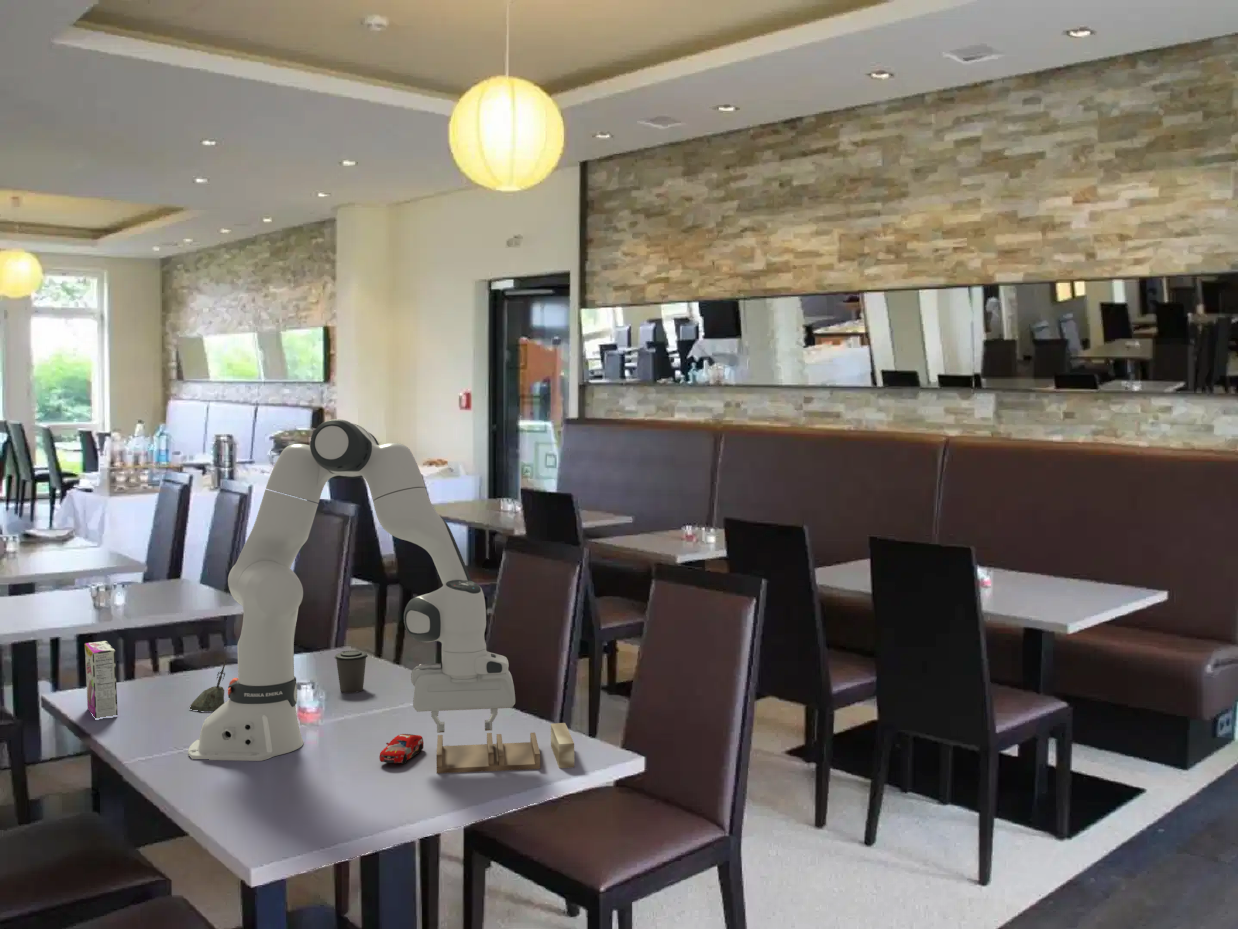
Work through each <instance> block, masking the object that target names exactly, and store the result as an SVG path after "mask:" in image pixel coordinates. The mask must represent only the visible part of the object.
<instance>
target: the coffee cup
mask: <svg viewBox="0 0 1238 929" xmlns="http://www.w3.org/2000/svg"><path fill="white" fill-rule="evenodd" d="M368 657H369V655H368V653H366V651H360V650H346V651H344V650H343V651H341V652H340V653H337V654H335V656H334V659H335V660H336V661H335V662H336V668H337V674H338V675H337V676H338V683H339V690H340V692H341V693H346V694H353V693H359V692H362V691H363V690H364V683H365V675H366V674H365V672H366V663H367V658H368Z"/></svg>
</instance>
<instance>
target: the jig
mask: <svg viewBox="0 0 1238 929" xmlns="http://www.w3.org/2000/svg"><path fill="white" fill-rule="evenodd" d="M529 734H530V737H529V740H530V741H525V742H508V743H507V742H505V743H504V742H503V738H502V737H503V736H502V734H501V733H497V734H496V743H494V742H493V733H492V732H486V743H484V744H483V743H481V744H461V745H459V744H458V745H444V738H443V737H444V735H443V734H438V735H437V743H436V758H435V759H436V774H449V773H451V774H453V773H456V774H457V773H476V772H477V773H479V772H499V771H500V772H501V771H502V772H503V771H522V770H524V771H525V770H527V771H528V770H540V769H541V753H540V748H539V743H538V739H537V734H536V732H530V733H529Z"/></svg>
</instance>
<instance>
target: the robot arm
mask: <svg viewBox="0 0 1238 929" xmlns="http://www.w3.org/2000/svg"><path fill="white" fill-rule="evenodd" d="M331 478H332V479H334V480H343V479H347V480H348V479H350V480H351V479H353V480H354V479H359V478H363V479H364V480H365V481H366V483H367V486H368V488H369V491H370V494H371V495H370V496H371V499H372V503H373V506H374V511H375V515H376V517H377V518H376V519H378V522H379V524H380V526H381V528H382V529H383V530H384V531H385V532H386V533H388V534H389V535H391V536H392V537H394V538H397V539H400V540H401V541H402V540H404V541H407V542H409V543H412V544H414V545H417V546H419V547H421V548H422V549H423V550H425V551H426V552H427V553H428V554H429V555H430V557H431V559H432V562H433V563H434V566H435V568H436V570H437V573H438V575H439V578H440V581H441V584H442V586H441V587H439V588H438V589H436V590H433V591H431V592H429V593H425V594H421V595H418V596H416V597H413V598H411V599H410V600H409V601H408V602H407V604H406V606H405V608H404V612H403V623H404V626H405V627H404V628H405V629H406V632H407V634H408V635H409V636H410V637H411V638H412V639H413V640H414V641H416V642H419V643H431V642H435V641H436V642H439V643H440V644H441V662H439V663H438V662H437V663H427V664H426V663H420V664H418V665H417V666H414V668H413V669H412V670H411V673H410V675H411V676H410V678H411V679H410V680H411V684H412V686H414V690H413V701H412V707H413V709H414V710H415V711H416V712H419V713H420V712H422V713H423V712H430V713H431V714H430V715H431V718H432V720H433V721H434V723H435V724H436V733H437V734H438V733H445V732H446V731H445V721H441V720H440V718H439V717H438V716H439V712H441V711H443V712H444V711H467V710H469V711H470V710H490V714H491V715H490V717H489V719H484V731H493V723H494V721H495V719H496V717H497V716H498V710H499V709H512V708H513V707H514V705H515V704H516V694H515V693H516V692H515V685H514V681H513V676H512V674H511V672H510V670H509V664H510V663H509V660H508V658H507V657H506V656H505V655H501V654H498V653H494V652H490V651H488V650H487V644H486V640H485V632H486V628H487V610H486V599H485V594H484V591H483V589H482V587H481V585H479V584H478V583H477V582H474V581H473V580H472V578H471V576H470V573H469V571H468V568H467V566H466V564H465V561H464V558H463V556H462V554H461V551H460V549H459V546H458V544H457V541H456V539H455V538H454V537H455V536H454V534H453V532H452V530H451V528H450V527H449V525H448V523H447V522H446V520H445V519H444V518H443V517H442V516H441V515H440V514H439V513H438V512H437V510H436V509H435V507H434V505H433V504H432V501H431V500H430V499H431V498H429V494H428V491H427V489H426V485H425V481H424V478H423V475H422V473H421V471H420V468H419V465H418V463H417V461H416V458H415V457H414V455H413V453H412V450H411V449H410V447H408V446H407V445H405V444H403V443H398V442H387V443H383V444H380V443H379V442H378V440H377V438H376V437H375V436H374V435H373V434H372V433H370V432H369V431H368V430H367V429H365V428H364V427H362V426H360V425H358V424H355V423H352V422H350V421H348V420H344V419H337V418H336V419H335V418H334V419H330V420H326V421H323V422H322V423H321V424H319V425H318V426H316V428H315V429H314V431H313V432H312V435H311V437H310V441H309V444H305V443H292V444H289V445H288V446H286V447H284V449H283V450H282V451H281V452H280V454H279V456H278V458H277V460H276V461H275V464H274V467H273V468H272V471H271V473H270V475H269V478H268V481H267V483H266V487H265V488H264V492H263V496H262V500H261V502H260V506H259V508H258V512H257V516H256V518H255V522H254V524H253V526H252V529H251V531H250V533H249V536H248V537H247V539H246V541H245V543H244V545H243V548H242V549H241V552H240V553H239V556H238V558H237V561H236V562H235V564H234V565H233V566H232V568H231V569H230V570H229V573H228V577H227V586H228V590H229V592H230V595H231V596H232V598H233V600H234V601H235V602H236V603H237V604H239V605H240V606H242V609H243V616H242V617H243V619H242V626H241V631H240V637H239V639H238V641H237V646H236V647H237V677H233V678H232V679H231V680H230V681H229V683H228V687H227V695H228V698H229V699H227V701H224V704H223V705H221V706H220V707H219V708H218V709H217V710H215V711H214V712H211V714H209V715H208V716H207V717H206V718H205V719H204V721H203V723H202V726H201V729H200V733H199V738H198V739H195V741H193V742H192V743H191V744H190V746H189V747H188V750H187V755H188V754H189V756H190V757H191V758H192V759H191V760H193V759H209V760H208V761H236V762H237V761H239V762H241V761H242V762H245V761H246V762H249V761H250V762H256V761H257V762H262V761H266V760H268V759H271V758H273V757H276V756H280V755H281V756H282V755H284V754H288V753H291V752H294V751H296V750H299V749H300V748H301V747H302V746H303V745H304V739H303V737H302V736H303V735H302V733H301V729H300V725H299V719H298V712H297V706H296V705H297V702H298V683H297V677H296V676H295V664H294V662H295V660H294V658H295V657H294V656H295V655H294V654H295V652H294V648H295V647H294V646H295V645H294V644H295V643H294V642H295V634H296V626H297V620H298V614H299V607H300V605H301V604H302V602H303V597H304V588H303V584H302V582H301V580H300V578H299V577H298V575H297V574H296V572H295V571H293V570H292V569H291V567H292V566H293V563H294V561H295V560H296V557H297V556H298V554H299V552H300V550H301V549H302V547H303V545H304V544H305V543H306V542H307V541H308V539H309V536H310V533H311V530H312V527H313V523H314V520H315V516H316V513H317V510H318V507H319V503H320V500H321V495H322V493H323V490H324V487H325V485H326V484H327V482H328V481H330V479H331Z"/></svg>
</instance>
